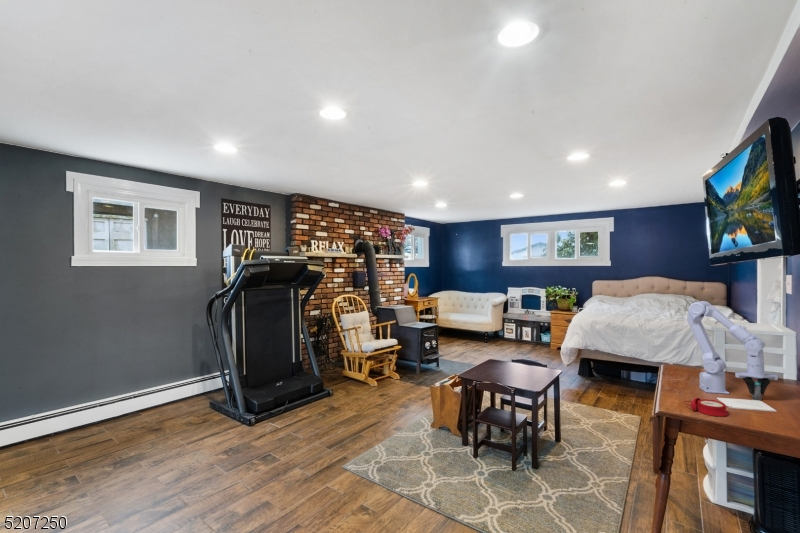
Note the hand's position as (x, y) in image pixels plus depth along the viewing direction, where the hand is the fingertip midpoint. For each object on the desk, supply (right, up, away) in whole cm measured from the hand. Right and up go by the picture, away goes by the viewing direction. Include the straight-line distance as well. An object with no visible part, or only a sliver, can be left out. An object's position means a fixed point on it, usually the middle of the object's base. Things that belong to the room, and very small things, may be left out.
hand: (756, 394), depth 171 cm
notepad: (-11, -3, -6) cm, 12 cm away
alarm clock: (-31, -4, -10) cm, 33 cm away
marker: (0, -2, 0) cm, 2 cm away
